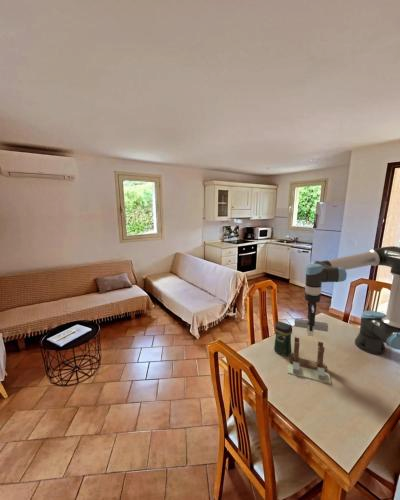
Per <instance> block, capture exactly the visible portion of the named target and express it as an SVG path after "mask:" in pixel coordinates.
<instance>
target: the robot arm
mask: <svg viewBox="0 0 400 500" xmlns="http://www.w3.org/2000/svg"><path fill="white" fill-rule="evenodd" d="M368 266H371V267H372V266H374V267H376V266H383V267H384V266H385V267H390V274H391V275H392V282H391V288H390V291H389V297H388V302H387V308H386V313H384V312H380V311H377V310H363V311H362V313H361V316H360V317H361V318H360V326H359V332H358V334H357V336H356V338H355V341H354V344H355V345H356V347H357V348H358V349H360V350H361V351H364V352H366V353H369V354H371V355H383V354H386V350H387V348H386V345H387V346H388V347H390V348H392V349H394V350H397V351H399V350H400V247H399V246H391V245H389V246H382V247H378V248H372V249H369V250H367V251H366V252H362V253H357V254H353V255H346V256H341V257H337V258H332V259H327V260H321V261H320V260H313V261H311V262H310V263H308V264H307V265H306V267H305V268H306V269H305V286H303V288H304V300H305V301H306V302H307V320H309V323H307V325H308V329H307V328H306V332H307V336H308V337H314V331H315V330H314V326H315V321H316V313H317V311H316V310H317V303H320V302H321V299H322V298H321V297H322V296H321V294H322V283H339V282H341V283H342V282H345V281H346V280H347V276H348V274H347V273H348V272H347V271H348V270H352V269H357V268H362V267H368ZM385 344H386V345H385Z"/></svg>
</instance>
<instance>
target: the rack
mask: <svg viewBox="0 0 400 500" xmlns="http://www.w3.org/2000/svg"><path fill="white" fill-rule="evenodd" d="M317 343H318V344H317V357H316V361H314V360H312V359H311V360H310V359H306V358H300V357H299V356H300V355H299V354H300V345H301V344H300V337H296V336H295V337H294V346H293V356H291V355H289V364H291V365H293V362H297V363H299V366H300V367H304V368H309V369H313V370H317V369H318V367H320V368H324V370H325V372H327V366H326V363H324V353H325V347H324V342H323V341H318V342H317Z"/></svg>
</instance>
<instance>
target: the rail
mask: <svg viewBox="0 0 400 500" xmlns="http://www.w3.org/2000/svg"><path fill="white" fill-rule="evenodd" d="M307 323H309V320H308V319H301V318H294V327H295V328H302V329H306V330H307V329H308V325H307ZM314 331H320V332H328V331H329V325H328V322H320V321H316V320H315V326H314Z"/></svg>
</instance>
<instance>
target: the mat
mask: <svg viewBox="0 0 400 500" xmlns="http://www.w3.org/2000/svg"><path fill="white" fill-rule="evenodd" d="M287 374H289V375H293V376H297V377H301V378H306V379H309V380H314V381H318V382H321V383H325V384H329V385H330V384H332V381H331V377H330V372H327V371H325V370H324V368H320V367H318V369H314V368H309V367H305V366H301V365H299V363H297V362H293V364H292V363H288V364H287Z"/></svg>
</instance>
